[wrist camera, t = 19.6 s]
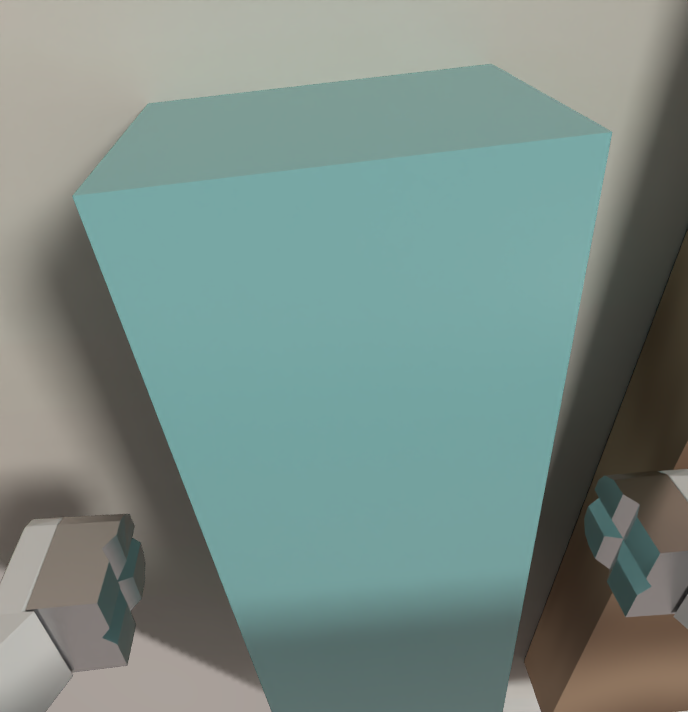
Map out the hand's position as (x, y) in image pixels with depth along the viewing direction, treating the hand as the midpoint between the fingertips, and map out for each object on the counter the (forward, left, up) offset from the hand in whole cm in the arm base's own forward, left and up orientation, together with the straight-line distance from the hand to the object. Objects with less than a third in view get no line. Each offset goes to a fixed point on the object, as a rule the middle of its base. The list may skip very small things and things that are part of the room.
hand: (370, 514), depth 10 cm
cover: (0, 0, -3) cm, 3 cm away
